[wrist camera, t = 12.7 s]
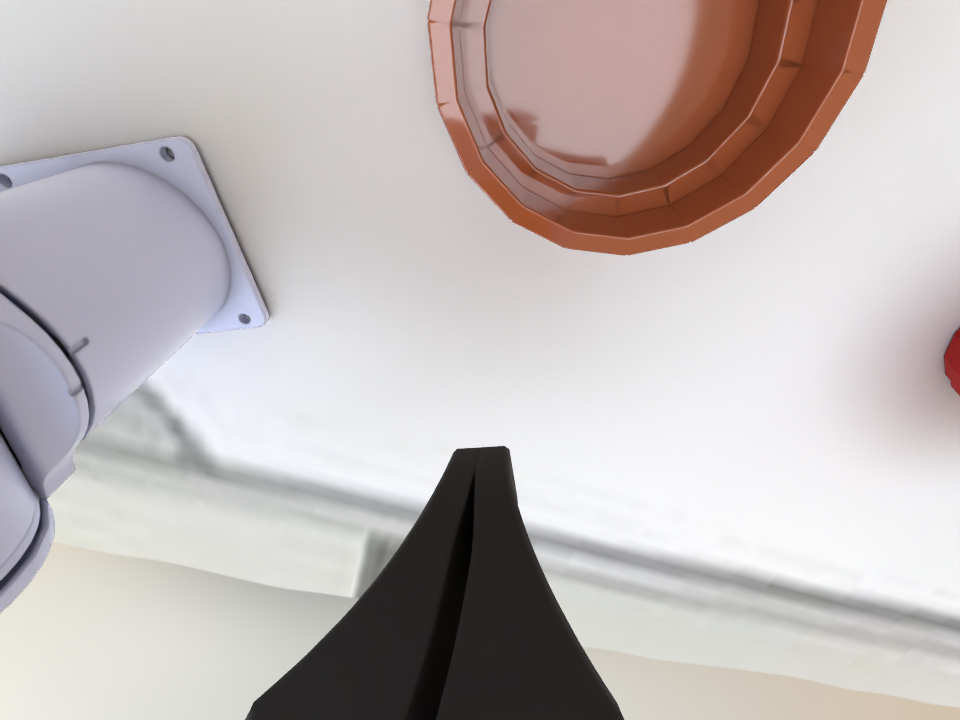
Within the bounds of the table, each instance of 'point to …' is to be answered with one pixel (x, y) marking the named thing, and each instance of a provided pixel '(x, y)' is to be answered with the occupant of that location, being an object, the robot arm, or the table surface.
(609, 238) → the bowl
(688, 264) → the table surface
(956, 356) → the plastic cup
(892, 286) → the table surface
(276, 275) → the table surface
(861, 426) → the table surface
